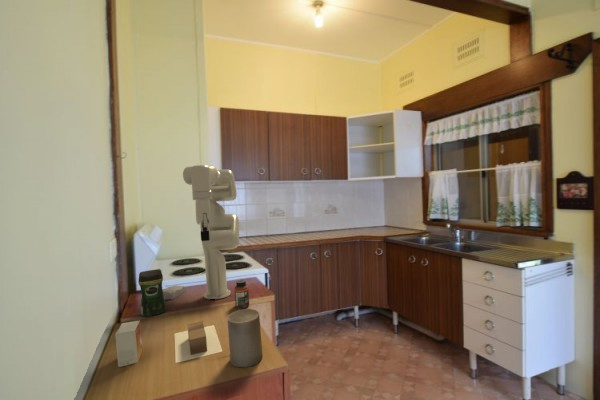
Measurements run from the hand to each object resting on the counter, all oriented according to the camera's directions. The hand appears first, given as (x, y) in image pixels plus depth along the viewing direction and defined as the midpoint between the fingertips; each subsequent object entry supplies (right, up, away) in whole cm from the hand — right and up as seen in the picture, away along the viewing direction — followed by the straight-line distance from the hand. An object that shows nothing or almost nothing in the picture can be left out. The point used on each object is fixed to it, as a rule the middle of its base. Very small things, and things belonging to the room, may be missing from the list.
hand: (205, 240), depth 129 cm
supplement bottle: (+14, -30, +9) cm, 34 cm away
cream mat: (+4, -32, -22) cm, 39 cm away
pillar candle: (+22, -32, -33) cm, 51 cm away
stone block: (-26, -31, +28) cm, 49 cm away
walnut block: (+2, -29, -18) cm, 34 cm away
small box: (-15, -34, -30) cm, 47 cm away
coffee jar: (-24, -32, +6) cm, 41 cm away
